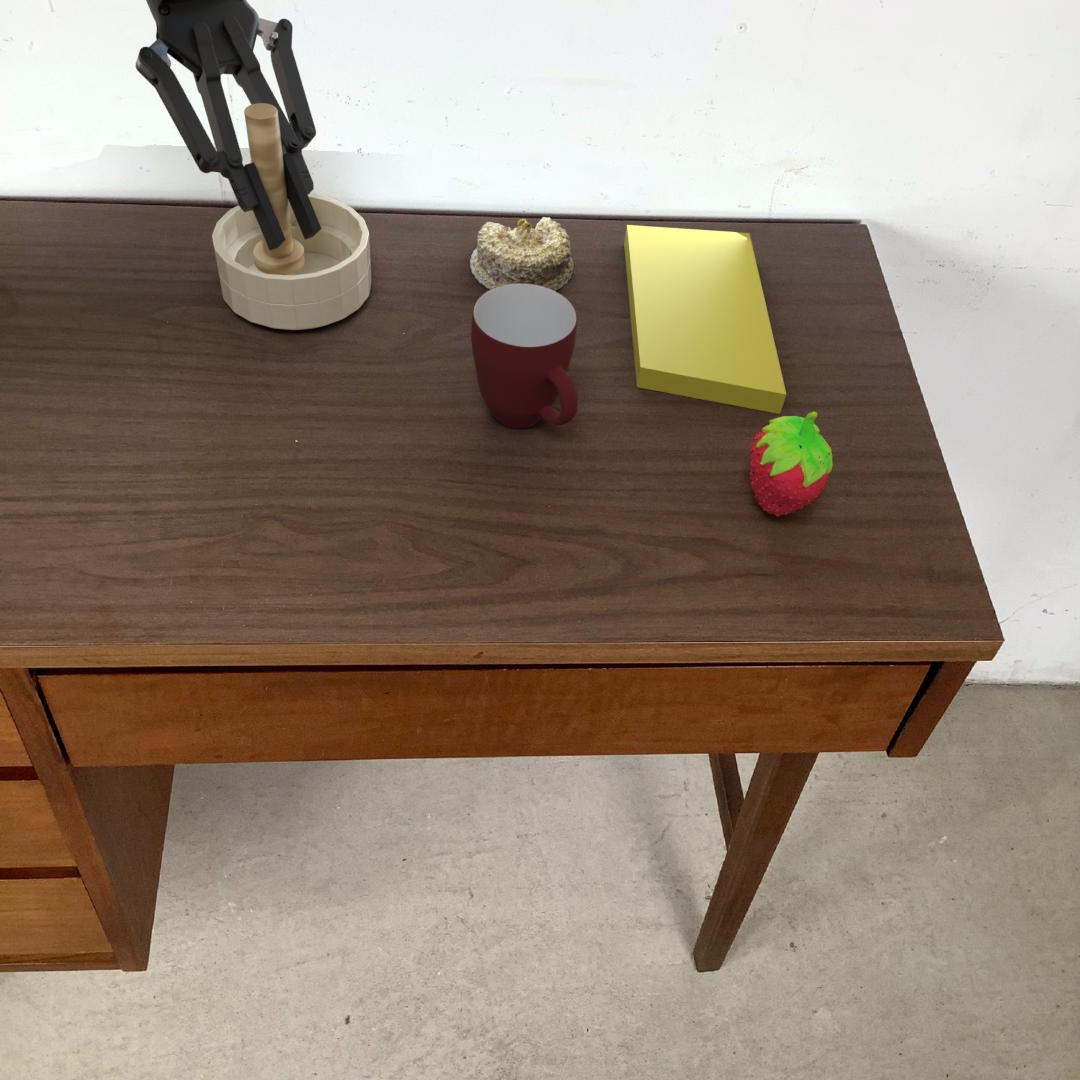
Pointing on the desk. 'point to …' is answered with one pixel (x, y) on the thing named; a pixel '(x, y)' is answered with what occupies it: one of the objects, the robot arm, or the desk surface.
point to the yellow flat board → (701, 317)
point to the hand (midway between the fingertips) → (295, 239)
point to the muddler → (272, 189)
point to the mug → (525, 353)
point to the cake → (523, 255)
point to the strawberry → (789, 464)
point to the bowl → (313, 291)
